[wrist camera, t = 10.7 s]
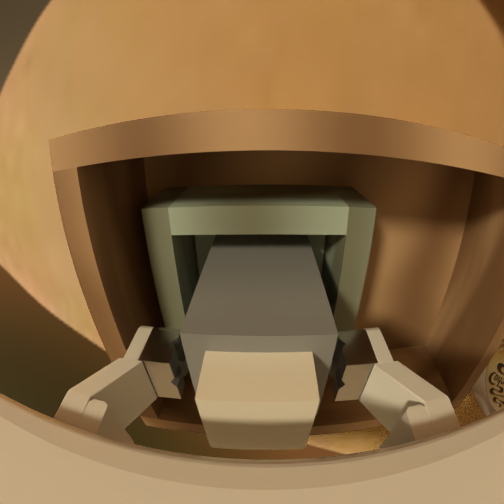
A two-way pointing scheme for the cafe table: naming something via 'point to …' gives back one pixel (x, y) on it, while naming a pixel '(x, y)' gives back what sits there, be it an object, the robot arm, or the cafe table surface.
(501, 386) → the coffee box
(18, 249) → the cafe table surface
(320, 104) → the cafe table surface
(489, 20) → the cafe table surface
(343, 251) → the crate
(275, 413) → the plug
